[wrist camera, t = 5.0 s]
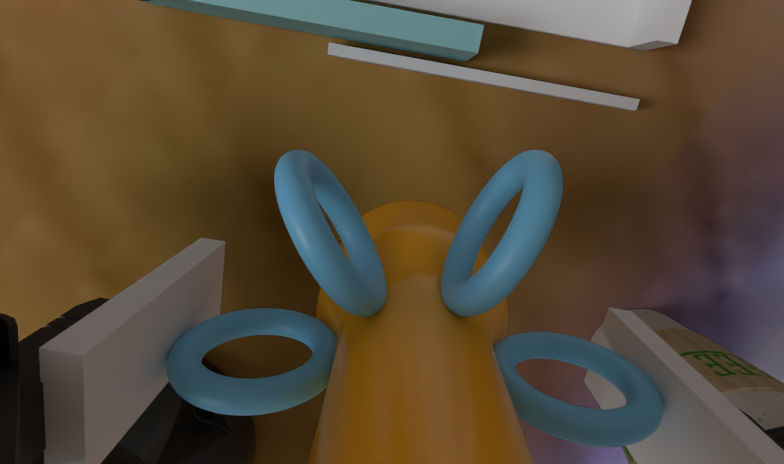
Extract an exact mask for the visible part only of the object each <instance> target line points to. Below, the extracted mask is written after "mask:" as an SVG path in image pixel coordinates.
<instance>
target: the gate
mask: <svg viewBox="0 0 784 464" xmlns="http://www.w3.org/2000/svg"><path fill="white" fill-rule="evenodd" d="M139 1H142V2H145V3H148V4H153V5H158V6H164V7H169V8H175V9H180V10H186V11H191V12H196V13H202V14H207V15H213V16H218V17H224V18H229V19H235V20H240V21H246V22H251V23H257V24H262V25H267V26H273V27H278V28H284V29H289V30H295V31H300V32H306V33H311V34H317V35H322V36H328V37H333V38H338V39H344V40H349V41H355V42H360V43H366V44H371V45H377V46H382V47H388V48H393V49H399V50H404V51H409V52H415V53H420V54H426V55H431V56H437V57H442V58H448V59H453V60H459V61H464V62H466V61H467V60H469V59H470V58H472V57H473V56H475V55H476V54H478V51H479V46H480V42H481V37H482V32H483V28H484V25H481V24H476V23H470V22H465V21H460V20H454V19H449V18H443V17H438V16H432V15H427V14H422V13H416V12H411V11H405V10H400V9H394V8H389V7H384V6H378V5H373V4H367V3H362V2H356V1H351V0H139Z"/></svg>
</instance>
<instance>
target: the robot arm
mask: <svg viewBox="0 0 784 464" xmlns="http://www.w3.org/2000/svg"><path fill="white" fill-rule="evenodd" d="M225 243H226V242H225V241H219V240H213V239H207V238H202V237H201V238H200V239H198V240H197V241H195V242H194V243H192V244H191V245H189V246H188V247H186V248H185V249H184V250H182V251H181V252H179V253H178V254H176V255H175V256H173V257H172V258H170V259H169V260H167V261H166V262H164V263H163V264H162V265H160V266H159V267H157V268H156V269H154V270H153V271H151V272H150V273H148V274H147V275H145V276H144V277H142V278H141V279H139V280H138V281H137V282H135V283H134V284H132V285H131V286H129V287H128V288H126V289H125V290H123V291H122V292H120V293H119V294H117V295H116V296H115V297H113V298H112V299H104V298H98V299H95V300H92V301H89V302H86V303H83V304H80V305H77V306H75V307H74V308H72V309H71V310H69V311H67V312H66V313H64V314H63V315H61V316H60V318H56V319H55V320H53V321H52V322H50V323H48V324H47V325H46V327H45V328H44V327H42V328H41V329H39V330H37V331H36V332H34V333H33V334H31V335H29V336H28V337H26V338H25V339H23V340H21V341H20V342H18V328H17V323H16V321H15V319H14V318H12V317H10V316H8V315H5V314H1V313H0V464H251V463H252V460H253V456H254V450H255V431H254V425H253V421H252V418H251V415H250V416H237V415H225V414H219V413H214V412H210V411H207V410H204V409H201V408H199V407H196V406H194V405H192V404H191V403H189V402H187V401H186V400H184V399H183V398H182V397H181V396H179V395H178V394H177V392H176V391H175V390H174V389H173V387H172V386H171V384H170V382H169V379H168V376H167V359H168V356H169V353H170V351H171V349H172V347H173V346H174V344H175V343H176V341H177V340H178V339H179V338H180V337H181V336H182V335H183V334H184V333H185V332H187V331H188V330H189V329H191V328H192V327H194V326H195V325H197V324H199V323H201V322H203V321H205V320H207V319H210V318H212V317H215V316H218V315H220V309H221V296H222V282H223V269H224V256H225ZM596 344H598V345H601V346H603V347H605V348H607V349H609V350H611V351H613V352H615V353H617V354H619V355H621V356H622V357H624V358H626V359H627V360H629V361H630V362H631V363H633V364H634V365H635V366H637V367H638V368H639V369H640V370H641V371H643V372H644V373H645V374H646V375H647V376H648V378H649V379H650V380H651V381H652V382H653V384H654V385H655V387H656V388H657V390H658V392H659V394H660V397H661V400H662V404H663V417H662V420H661V423H660V425H659V427H658V428H657V430H656V431H655V432H654V433H653V434H652V435H651V436H649V437H648V438H646V439H645V440H643V441H641V442H638V443H635V444H632V445H627V446H626V447H627V448H628V450H629V451H630V453H631V455H632V456H633V458H634V459H635V461H636V462H637V464H784V447H781V444H780V443H779V442H778V441H777V440H776V439H775V438H774V437H773V436H772V435H770V434H767V431H766V430H765V429H764V428H763V427H762V426H761V425H759V424H758V423H757V422H756V421H755V420H754V419H753V418H752V417H751V416H749V415H748V414H746V413H745V412H743V411H742V410H740V409H739V408H737V407H736V406H735V405H733V404H732V403H731V402H730V401H729V400H728V399H727V398H726V397H725V396H724V395H723V394H721V393H720V392H719V391H718V390H717V389H716V388H715V387H714V386H713V385H712V384H711V383H709V382H708V381H707V380H706V379H705V378H704V377H703V376H702V375H701V374H700V373H699V372H697V371H696V370H695V369H694V368H693V367H692V366H691V365H690V364H689V363H688V362H687V361H685V360H684V359H683V358H682V357H681V356H680V355H679V354H678V353H677V352H676V351H675V350H673V349H672V348H671V347H670V346H669V345H668V344H667V343H666V342H665V341H664V340H663V339H661V338H660V337H659V336H658V335H657V334H656V333H655V332H654V331H653V330H652V329H651V328H649V327H648V326H647V325H646V324H645V323H644V322H643V321H642V320H641V319H640V318H639V317H637V316H636V315H635V314H634V313H633V312H632V311H627V310H622V309H616V308H610V307H608V310H607V313H606V316H605V319H604V322H603V325H602V328H601V331H600V334H599V337H598V340H597V343H596ZM202 364H203V365H204V366H205V367H206V368H207V369H208V370H210V371H212V372H214V373H217V374H220V375H223V376H225V375H224V374H223V373H221V372H220V371H219V370H218V369H217V368H216V367H214V366H213V365H212V364H210V363H209V362H207V361H206V360H204V359H203V358H202ZM584 382H585V384H586V385H587V387H588V388H589V390H590V391H591V393H592V394H593V396H594V397H595V399H596V401H597V402H598V404H599V405H600V407H601V408H602V409H614V408H619V407H622V406H624V405H625V404H626V402H627V401H626V398H625V397H624V395H623V394H622V392H621V391H620V390H619V389H618V388H617V387H616V386H614V385H613V384H612V383H611V382H609V381H608V380H606V379H605V378H603V377H602V376H600V375H598V374H596V373H594V372H592V371H590V370H587V373H586V376H585V379H584Z"/></svg>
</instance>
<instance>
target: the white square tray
mask: <svg viewBox="0 0 784 464" xmlns="http://www.w3.org/2000/svg"><path fill="white" fill-rule="evenodd" d="M366 1H372V2H377V3H383V4H388V5H394V6H399V7H404V8H410V9H415V10H421V11H426V12H432V13H437V14H442V15H448V16H453V17H459V18H464V19H470V20H475V21H480V22H486V23H491V24H497V25H502V26H508V27H513V28H518V29H524V30H529V31H535V32H540V33H546V34H551V35H556V36H562V37H567V38H573V39H578V40H584V41H589V42H595V43H600V44H605V45H611V46H616V47H622V48H627V49H633V50H638V51H646V50H651V49H656V48H660V47H665V46H670V45H675V44H678V41H679V38H680V35H681V32H682V29H683V26H684V23H685V20H686V17H687V14H688V10H689V7H690V4H691V1H692V0H366ZM328 55H330V56H332V57H336V58H342V59H347V60H352V61H358V62H363V63H369V64H374V65H380V66H385V67H391V68H396V69H402V70H407V71H413V72H418V73H424V74H429V75H435V76H440V77H446V78H451V79H456V80H462V81H467V82H473V83H478V84H484V85H489V86H495V87H500V88H506V89H511V90H517V91H522V92H528V93H533V94H539V95H544V96H550V97H555V98H560V99H566V100H571V101H577V102H582V103H588V104H593V105H599V106H604V107H610V108H615V109H621V110H632V111H636V110H637V107H638V104H639V101H640V99H635V98H630V97H624V96H619V95H613V94H608V93H602V92H597V91H591V90H586V89H580V88H575V87H569V86H564V85H559V84H553V83H548V82H542V81H537V80H531V79H526V78H520V77H515V76H509V75H504V74H498V73H493V72H488V71H482V70H477V69H471V68H466V67H460V66H455V65H449V64H444V63H438V62H433V61H427V60H422V59H416V58H411V57H406V56H400V55H395V54H389V53H384V52H378V51H373V50H367V49H362V48H356V47H351V46H345V45H340V44H335V43H329V47H328Z"/></svg>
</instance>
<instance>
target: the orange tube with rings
mask: <svg viewBox="0 0 784 464" xmlns="http://www.w3.org/2000/svg"><path fill="white" fill-rule="evenodd" d="M274 185H275V192H276V197H277V202H278V205H279V209H280V212H281V215H282V218H283V220H284V223H285V225H286V228H287V230H288V232H289V235H290V237H291V239H292V241H293V243H294V245H295V247H296V249H297V251H298V253H299V254H300V256H301V258H302V260H303V261H304V263H305V265H306V266H307V268H308V269H309V271H310V272H311V274H312V275H313V277H314V278H315V280H316V281H317V282H318V284H319V285H320V286H321V288H320V291H319V295H318V300H317V307H316V318H314V317H312V316H310V315H307V314H304V313H301V312H297V311H292V310H286V309H277V308H254V309H244V310H238V311H233V312H228V313H224V314H221V315H218V316H215V317H212V318H210V319H207V320H205V321H203V322H201V323H199V324H197V325H195V326H194V327H192V328H191V329H189V330H188V331H187V332H185V333H184V334H183V335H182V336H181V337H180V338H179V339H178V340H177V341H176V343H175V344H174V346H173V347H172V349H171V351H170V353H169V356H168V359H167V376H168V379H169V382H170V384H171V386H172V387H173V389H174V390H175V391H176V392H177V394H178V395H179V396H181V397H182V398H183V399H184V400H186V401H187V402H189V403H191V404H192V405H194V406H196V407H199V408H201V409H204V410H207V411H210V412H214V413H219V414H225V415H237V416H250V415H262V414H269V413H274V412H278V411H282V410H286V409H289V408H292V407H295V406H297V405H300V404H302V403H304V402H306V401H308V400H310V399H311V398H313V397H315V396H316V395H318V394H319V393H320V392H322V391H323V390H324V389H325V388H326V387H327V390H326V394H325V398H324V402H323V406H322V410H321V414H320V418H319V422H318V426H317V430H316V434H315V438H314V442H313V446H312V450H311V454H310V458H309V462H308V464H535V463H534V460H533V458H532V455H531V452H530V449H529V447H528V444H527V441H526V438H525V436H524V433H523V430H522V427H521V425H520V422H519V419H518V417H519V418H520V419H522V420H523V421H525V422H526V423H528V424H530V425H532V426H533V427H535V428H537V429H539V430H541V431H543V432H545V433H548V434H550V435H552V436H555V437H558V438H561V439H564V440H567V441H570V442H574V443H578V444H583V445H589V446H596V447H621V446H627V445H632V444H635V443H638V442H641V441H643V440H645V439H646V438H648V437H649V436H651V435H652V434H653V433H654V432H655V431H656V430H657V428H658V427H659V425H660V423H661V420H662V417H663V404H662V400H661V397H660V394H659V392H658V390H657V388H656V387H655V385H654V384H653V382H652V381H651V380H650V379H649V378H648V376H647V375H646V374H645V373H644V372H643V371H641V370H640V369H639V368H638V367H637V366H635V365H634V364H633V363H631V362H630V361H629V360H627V359H626V358H624V357H622V356H621V355H619V354H617V353H615V352H613V351H611V350H609V349H607V348H605V347H603V346H601V345H598V344H596V343H593V342H590V341H587V340H584V339H581V338H577V337H574V336H569V335H565V334H559V333H552V332H524V333H518V334H514V335H511V336H508V337H506V334H507V329H508V319H509V309H508V300H507V296H508V295H509V294H510V293H511V292H512V291H513V290H514V289H515V287H516V286H517V285H518V284H519V283H520V282H521V280H522V279H523V278H524V276H525V275H526V274H527V272H528V271H529V270H530V268H531V267H532V265H533V264H534V262H535V260H536V259H537V257H538V256H539V254H540V252H541V250H542V249H543V247H544V245H545V243H546V241H547V239H548V237H549V235H550V232H551V230H552V228H553V225H554V223H555V220H556V217H557V214H558V211H559V208H560V204H561V199H562V193H563V175H562V170H561V167H560V165H559V163H558V161H557V160H556V159H555V158H554V157H553V156H552V155H551V154H549V153H548V152H545V151H542V150H528V151H525V152H522V153H520V154H518V155H516V156H515V157H513V158H512V159H510V160H509V161H508V162H507V163H506V164H504V165H503V166H502V167H501V168H500V169H499V170H498V171H497V172H496V173H495V174H494V175H493V177H492V178H491V179H490V180H489V181H488V183H487V184H486V185H485V186H484V188H483V189H482V190H481V192H480V193H479V195H478V196H477V197H476V199H475V200H474V202H473V204H472V205H471V207H470V208H469V210H468V212H467V213H466V215H465V217H464V219H462V218H461V217H459V216H458V215H457V214H455V213H454V212H452V211H451V210H449V209H447V208H445V207H442V206H440V205H437V204H434V203H431V202H426V201H420V200H401V201H394V202H390V203H386V204H383V205H381V206H378V207H376V208H374V209H372V210H370V211H368V212H367V213H365V214H364V215H362V216H360V214H359V212H358V210H357V209H356V207H355V205H354V203H353V202H352V200H351V198H350V197H349V195H348V194H347V192H346V191H345V189H344V188H343V186H342V185H341V183H340V182H339V181H338V179H337V178H336V177H335V175H334V174H333V173H332V172H331V170H330V169H329V168H328V167H327V166H326V165H325V164H324V163H323V162H322V161H321V160H320V159H319V158H317V157H316V156H315V155H313V154H311V153H310V152H307V151H304V150H292V151H289V152H287V153H285V154H284V155H283V156H282V157H281V158H280V159H279V161H278V163H277V165H276V168H275V174H274ZM522 189H523V192H522V195H521V198H520V201H519V204H518V207H517V209H516V212H515V214H514V216H513V218H512V220H511V222H510V224H509V226H508V228H507V230H506V232H505V234H504V235H503V237H502V239H501V240H500V242H499V244H498V245H497V247H496V248H495V250H494V251H493V253H492V254H491V256H490V257H489V256H488V254H487V252H486V250H485V249H484V247H483V245H482V244H483V242H484V240H485V238H486V236H487V234H488V232H489V231H490V229H491V227H492V226H493V224H494V222H495V221H496V219H497V218H498V216H499V215H500V214H501V212H502V211H503V209H504V208H505V207H506V206H507V204H508V203H509V202H510V201H511V200H512V199H513V198H514V197H515V196H516V195H517V194H518V193H519V192H520V191H521V190H522ZM318 202H319V203H318ZM319 204H320V205H321V206H322V208H323V209H324V211H325V212H326V214H327V215H328V217H329V218H330V220H331V222H332V223H333V225H334V227H335V229H336V230H337V232H338V234H339V236H340V238H341V241H340V243H339V244H338V242H337V240H336V238H335V237H334V235H333V233H332V231H331V229H330V227H329V225H328V223H327V221H326V219H325V217H324V215H323V212H322V210H321V208H320V205H319ZM253 335H278V336H284V337H289V338H292V339H295V340H298V341H300V342H302V343H304V344H306V345H307V346H308V347H309V348H310V349H311V350H312V353H313V355H312V357H311V358H310V359H309V360H308V361H307V362H306V363H305V364H303V365H302V366H300V367H298V368H296V369H294V370H292V371H289V372H287V373H284V374H280V375H276V376H271V377H265V378H251V379H247V378H233V377H227V376H223V375H220V374H217V373H214V372H212V371H210V370H208V369H207V368H206V367H205V366H204V365H203V364H202V358H203V357H204V355H205V354H206V353H207V352H209V351H210V350H211V349H213V348H214V347H216V346H218V345H220V344H222V343H224V342H227V341H230V340H233V339H237V338H241V337H246V336H253ZM529 359H553V360H559V361H564V362H568V363H571V364H575V365H578V366H580V367H583V368H586V369H588V370H590V371H592V372H594V373H596V374H598V375H600V376H602V377H603V378H605V379H606V380H608V381H609V382H611V383H612V384H613V385H614V386H616V387H617V388H618V389H619V390H620V391H621V392H622V394H623V395H624V397H625V398H626V401H627V402H626V404H625V405H624V406H622V407H619V408H614V409H591V408H585V407H580V406H576V405H572V404H568V403H565V402H562V401H560V400H557V399H555V398H552V397H550V396H548V395H546V394H544V393H542V392H540V391H538V390H537V389H535V388H534V387H532V386H531V385H529V384H528V383H527V382H526V381H524V380H523V379H522V378H521V377H520V375H519V374H518V373H517V371H516V369H515V366H516V365H517V364H518V363H520V362H522V361H525V360H529ZM517 416H518V417H517Z"/></svg>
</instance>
